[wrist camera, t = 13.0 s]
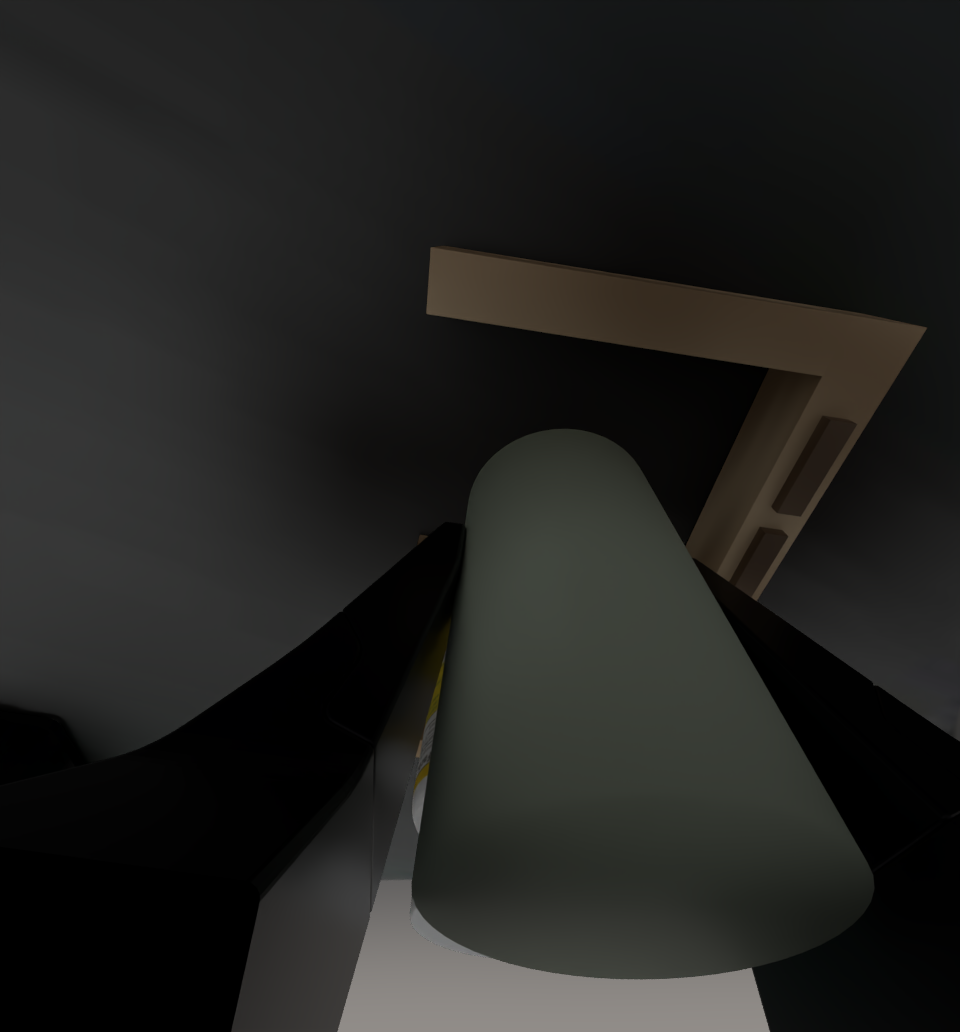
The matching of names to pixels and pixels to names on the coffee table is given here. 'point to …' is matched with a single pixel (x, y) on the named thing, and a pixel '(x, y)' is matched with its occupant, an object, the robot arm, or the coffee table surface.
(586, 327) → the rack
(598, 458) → the post
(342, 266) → the coffee table surface
